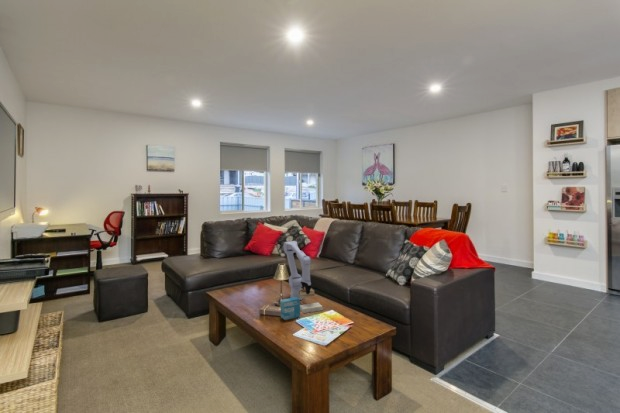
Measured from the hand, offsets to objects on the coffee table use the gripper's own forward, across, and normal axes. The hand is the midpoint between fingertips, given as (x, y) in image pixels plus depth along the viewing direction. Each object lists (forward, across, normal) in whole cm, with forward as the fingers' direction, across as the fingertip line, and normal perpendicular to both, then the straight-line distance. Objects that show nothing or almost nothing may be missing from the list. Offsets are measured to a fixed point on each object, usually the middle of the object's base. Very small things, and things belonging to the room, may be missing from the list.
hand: (306, 292), depth 226 cm
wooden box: (+2, 0, 0) cm, 2 cm away
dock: (+9, +9, 0) cm, 13 cm away
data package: (+9, +17, -17) cm, 26 cm away
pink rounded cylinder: (-1, 0, 0) cm, 1 cm away
